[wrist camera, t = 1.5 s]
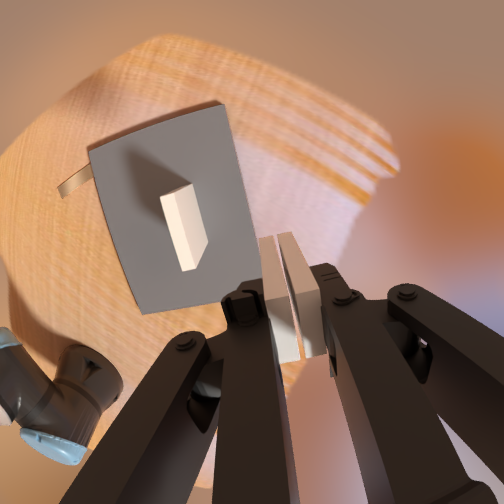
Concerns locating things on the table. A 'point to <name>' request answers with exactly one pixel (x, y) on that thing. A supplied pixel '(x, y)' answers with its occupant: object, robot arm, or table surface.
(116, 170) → the slate board
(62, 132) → the table surface
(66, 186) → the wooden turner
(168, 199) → the tile
